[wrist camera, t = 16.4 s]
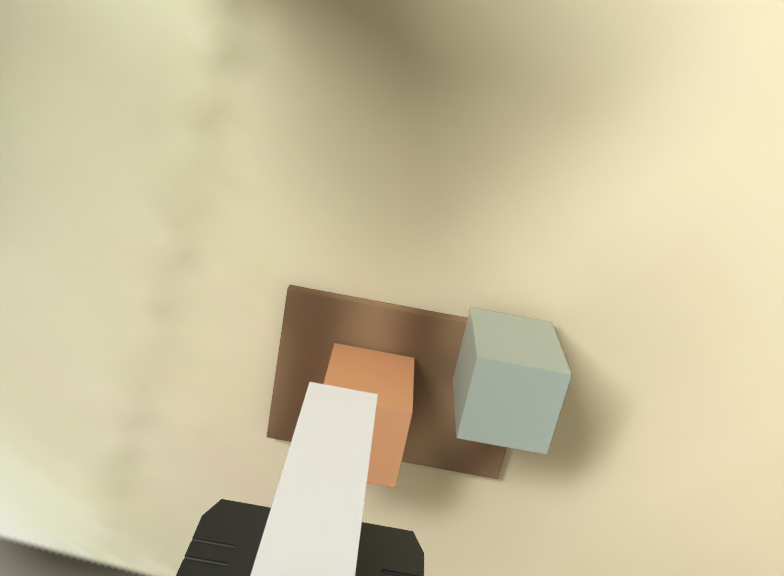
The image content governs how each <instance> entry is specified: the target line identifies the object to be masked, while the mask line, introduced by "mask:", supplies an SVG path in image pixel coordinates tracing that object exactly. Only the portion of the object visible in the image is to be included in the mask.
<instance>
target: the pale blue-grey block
mask: <svg viewBox="0 0 784 576" xmlns="http://www.w3.org/2000/svg"><path fill="white" fill-rule="evenodd" d="M571 376H572V374H571V371H570V369H569V366H568V363H567V361H566V358H565V355H564V353H563V350H562V347H561V345H560V342H559V339H558V337H557V334H556V331H555V329H554V326H553V324H552V322H547V321H541V320H536V319H531V318H525V317H520V316H515V315H509V314H504V313H499V312H493V311H488V310H483V309H477V308H472V307H470V311H469V315H468V319H467V323H466V327H465V332H464V336H463V340H462V344H461V348H460V352H459V356H458V360H457V364H456V368H455V373H454V377H453V390H454V406H455V421H456V437H457V438H459V439H465V440H470V441H475V442H481V443H486V444H492V445H497V446H503V447H508V448H514V449H519V450H525V451H530V452H536V453H541V454H547V453H548V449H549V446H550V443H551V440H552V437H553V433H554V430H555V427H556V424H557V420H558V417H559V414H560V411H561V408H562V404H563V401H564V398H565V395H566V392H567V388H568V385H569V382H570V379H571Z"/></svg>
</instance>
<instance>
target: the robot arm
mask: <svg viewBox="0 0 784 576" xmlns="http://www.w3.org/2000/svg"><path fill="white" fill-rule="evenodd" d="M377 396H378V394H374V393H368V392H363V391H357V390H352V389H347V388H341V387H336V386H330V385H325V384H319V383H314V382H309V385H308V389H307V392H306V395H305V399H304V402H303V405H302V408H301V412H300V415H299V418H298V421H297V425H296V428H295V431H294V435H293V438H292V441H291V444H290V448H289V451H288V454H287V457H286V461H285V464H284V467H283V471H282V474H281V477H280V480H279V484H278V487H277V490H276V493H275V497H274V500H273V503H272V507H271V508H269V507H263V506H258V505H252V504H247V503H241V502H236V501H230V500H224V499H221V500H220V501H219V502H218V503H216V504H215V505H214V506H213V507H212V508H211V509H209V510H208V511H207V512H206V513H205V514H204V515H202V517H201V519H200V522H199V524H198V526H197V529H196V531H195V533H194V536H193V539H192V542H191V543H190V545H189V547H188V550H187V552H186V554H185V558H184V560H183V561H182V563H181V566H180V568H179V570H178V573H177V575H176V576H424V552H423V550H422V548H421V546H420V544H419V542H418V540H417V538H416V536H415V534H414V532H413V531H408V530H402V529H397V528H391V527H386V526H380V525H374V524H369V523H363V522H362V515H363V508H364V500H365V492H366V484H367V476H368V468H369V460H370V452H371V444H372V436H373V428H374V420H375V412H376V404H377Z"/></svg>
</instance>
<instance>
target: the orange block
mask: <svg viewBox="0 0 784 576" xmlns="http://www.w3.org/2000/svg"><path fill="white" fill-rule="evenodd" d="M324 384H325V385H330V386H336V387H341V388H347V389H352V390H357V391H363V392H368V393H374V394H378V396H377V404H376V412H375V420H374V428H373V436H372V444H371V452H370V460H369V468H368V476H367V483H372V484H377V485H383V486H388V487H394V488H396V483H397V479H398V474H399V470H400V465H401V461H402V456H403V452H404V448H405V443H406V439H407V434H408V430H409V425H410V421H411V416H412V412H413V385H414V358H413V357H408V356H402V355H397V354H391V353H386V352H381V351H375V350H370V349H364V348H359V347H354V346H348V345H343V344H337V343H334V346H333V350H332V354H331V357H330V361H329V365H328V369H327V372H326V376H325V380H324Z"/></svg>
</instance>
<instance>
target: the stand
mask: <svg viewBox="0 0 784 576" xmlns="http://www.w3.org/2000/svg"><path fill="white" fill-rule="evenodd" d="M467 319H468V318H464V317H459V316H453V315H448V314H443V313H437V312H432V311H427V310H421V309H416V308H411V307H405V306H400V305H395V304H389V303H384V302H379V301H373V300H368V299H362V298H357V297H352V296H346V295H341V294H336V293H330V292H325V291H320V290H314V289H309V288H304V287H298V286H293V285H289V287H288V289H287V296H286V303H285V311H284V318H283V325H282V332H281V339H280V346H279V353H278V360H277V367H276V375H275V382H274V389H273V396H272V403H271V410H270V417H269V424H268V432H267V437H269V438H275V439H280V440H286V441H292V438H293V435H294V431H295V428H296V425H297V421H298V418H299V415H300V412H301V408H302V405H303V402H304V399H305V395H306V392H307V389H308V385H309V382H314V383H319V384H324V380H325V376H326V372H327V369H328V365H329V361H330V357H331V354H332V350H333V346H334V343H337V344H343V345H348V346H354V347H359V348H364V349H370V350H375V351H381V352H386V353H391V354H397V355H402V356H408V357H413V358H414V385H413V412H412V416H411V421H410V425H409V430H408V434H407V439H406V443H405V448H404V452H403V456H402V461H401V462H407V463H412V464H418V465H423V466H429V467H435V468H440V469H446V470H451V471H457V472H462V473H468V474H473V475H479V476H484V477H490V478H495V479H498V475H499V472H500V468H501V465H502V461H503V458H504V454H505V451H506V447H503V446H497V445H492V444H486V443H481V442H475V441H470V440H465V439H459V438H457V437H456V421H455V406H454V390H453V377H454V373H455V368H456V364H457V360H458V356H459V352H460V348H461V344H462V340H463V336H464V332H465V327H466V323H467Z"/></svg>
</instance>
